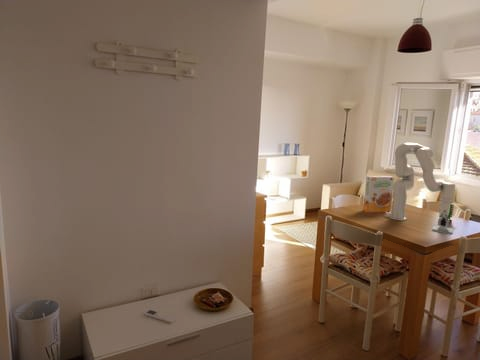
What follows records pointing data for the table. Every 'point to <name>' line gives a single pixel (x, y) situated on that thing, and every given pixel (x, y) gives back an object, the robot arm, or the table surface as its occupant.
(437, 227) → the shaft block
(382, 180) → the cereal box
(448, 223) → the hub
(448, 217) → the green toy figure
